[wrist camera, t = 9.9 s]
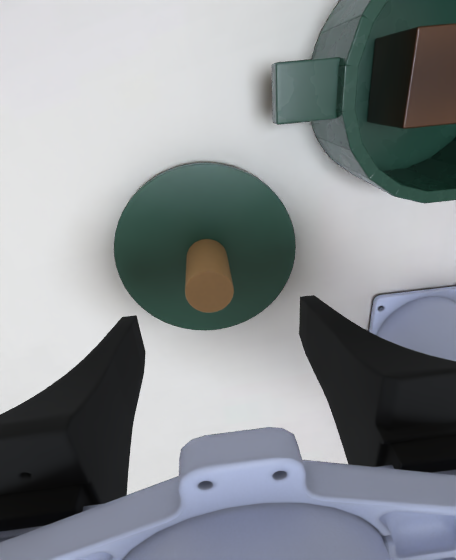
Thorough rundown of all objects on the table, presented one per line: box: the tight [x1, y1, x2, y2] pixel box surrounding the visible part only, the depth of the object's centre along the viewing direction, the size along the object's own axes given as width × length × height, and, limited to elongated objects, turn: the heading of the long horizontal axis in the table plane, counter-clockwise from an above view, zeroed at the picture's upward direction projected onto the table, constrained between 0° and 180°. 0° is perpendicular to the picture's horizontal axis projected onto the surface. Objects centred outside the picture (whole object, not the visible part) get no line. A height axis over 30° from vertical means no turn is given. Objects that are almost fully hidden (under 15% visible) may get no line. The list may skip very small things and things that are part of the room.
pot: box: [272, 0, 456, 203], centre depth 17 cm, size 11×16×5 cm
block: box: [367, 23, 456, 129], centre depth 18 cm, size 4×4×4 cm
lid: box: [114, 163, 296, 330], centre depth 21 cm, size 12×12×6 cm
